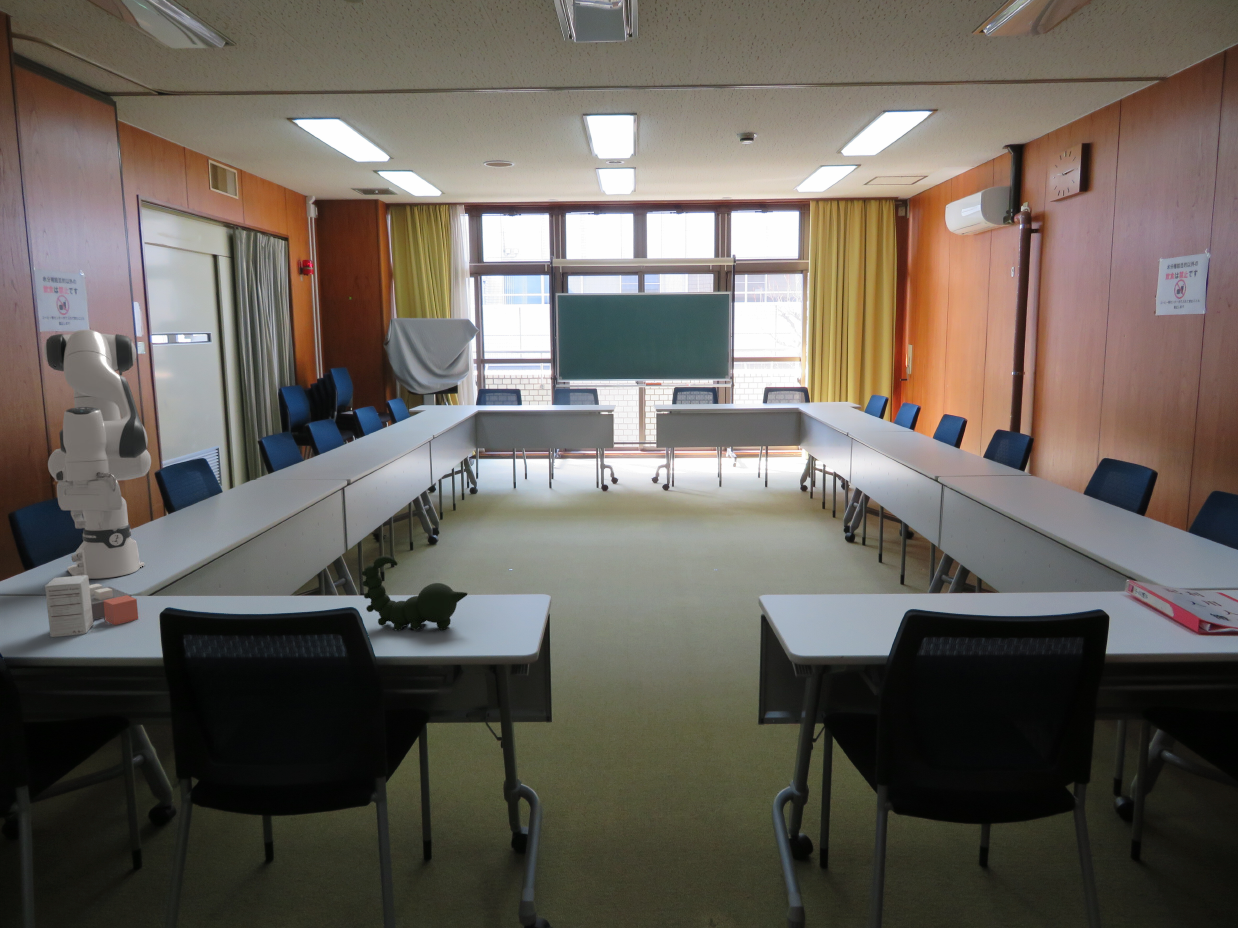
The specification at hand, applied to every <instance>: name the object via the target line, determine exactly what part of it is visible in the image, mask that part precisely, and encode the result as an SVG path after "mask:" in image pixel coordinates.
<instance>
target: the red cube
mask: <svg viewBox="0 0 1238 928" xmlns="http://www.w3.org/2000/svg"><path fill="white" fill-rule="evenodd" d="M137 599H138V598H135V597H132V596H131V597H130V596H128V595H126V596H121V597H117V598H113V599H108V600H104V601H103V602H104V612H105V617H104V619H105V622H107V623H110V624H111V625H114V626H117V625H120V624H125V623H128V622H132V621H133V622H134V621H136V619H137V620H139V612H138V601H137Z"/></svg>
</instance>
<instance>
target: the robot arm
mask: <svg viewBox="0 0 1238 928" xmlns="http://www.w3.org/2000/svg"><path fill="white" fill-rule="evenodd" d="M43 356H44V358H45V361H46V362H47V365H48V366H49V367H50V368H51V369H53V371H59V372H63V375H64V379H65V382H66V383H67V384H68V386H69V387H70V388H71V389H73V400H74V407H71V408H68V409H67V410H65V411H64V412H63V413H64V414H63V421H62V429H60V431H59V443H60V446H59V447H60V448H56V449H55V450H54V451H53V452H52V453H51V454H50V456H49V458H48V460H47V467H48V471H49V473H50V475H51V477H53V479H54V481H55V482H57V484H56V494H57V502H58V507H59V508H60V510H61V511H70V516H71V518H72V520H73V521H74V527H75V529H83V530H82V531H83V533H82V540H83V542H82V543H81V544H80V545H79V547H78V548H77V549H76V551H75V553H74V554H71V557H70V558H71V562H72V563H75V564H72V565H70V566H67V571H68V572H69V574H70V575H71V576H82V575H88V578H89V580H91V579H96V580H97V579H109V578H110V579H111V578H115V577H116V578H117V577H121V576H126V575H129V574H132V573H135V572H137V571H138V570H139V569H141V568H143V567H145V566H146V565H145V562H144V561H140V555H139V549H138V543H137V541H136V540H135V539H133V538H131V536H132V528H131V524H130V523H129V517H128V505H127V501H126V499H125V498H124V497H123V496H122V492H121V488H120V483H119V481H129V480H133V479H137V478H141V477H144V476H146V475H147V474H148V472H149V471H150V469H151V465H152V457H151V454H150V452H149V451H148V450H147V449H148V448H147V447H148V442H149V441H148V440H149V439H148V435H147V434H148V433H147V431H146V428H145V427H144V425H143V423H142V420H141V417H140V415H139V412H138V409H137V405H136V402H135V399H134V395H133V394H132V390H131V387H130V385H129V382H128V380H127V378H126V377H125V376H122V375H123V373H124V372H126V371H129V370H130V369H131V368H132V367H133V366H134V365H135V364H134V363H135V362H136V359H137V349H136V346H135V344H134V342H133V341H132V338H130V337H129V336H127V335H124V334H123V335H122V334H118V333H117V334H109V333H102V332H101V333H100V332H98V331H97V330H94V329H79V330H77V331H74V332H73V333H71V334H69V333H68V334H64V333H57V334H53V335H50V336H49V337H48V338H47V339H46V341H45V343H44V347H43ZM116 371H117V372H118V373H117V372H116ZM144 565H145V566H144ZM142 566H143V567H142ZM140 567H141V568H140Z"/></svg>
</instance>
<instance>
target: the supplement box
mask: <svg viewBox="0 0 1238 928" xmlns="http://www.w3.org/2000/svg"><path fill="white" fill-rule="evenodd" d="M89 580H90V579H89V578H88V575H82V576H72V575H71V576H62V577H54V578H52V579H51V580H50V581H49V582H48V583H46V585H44V589H45V597H46V598H45V599H46V607H47V608H46V609H47V615H48V625H49V633H50V634H49V635H50V638H56V637H57V638H59V637H64V636H65V637H68V636H76V635H85V634H87V633H88V631H89V630H90V628H92V626H93V625H94V620H93V616H92V607H91V597H90V588H89V585H90V581H89Z"/></svg>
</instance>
